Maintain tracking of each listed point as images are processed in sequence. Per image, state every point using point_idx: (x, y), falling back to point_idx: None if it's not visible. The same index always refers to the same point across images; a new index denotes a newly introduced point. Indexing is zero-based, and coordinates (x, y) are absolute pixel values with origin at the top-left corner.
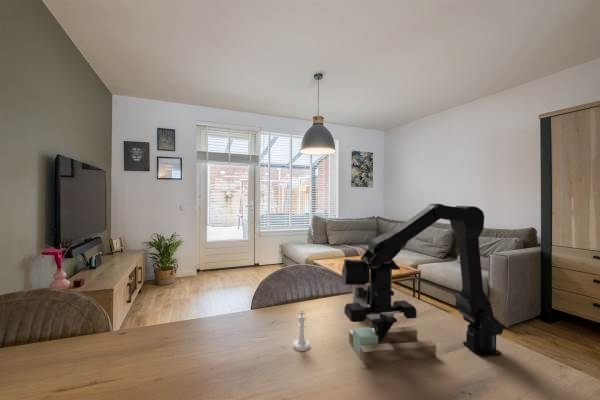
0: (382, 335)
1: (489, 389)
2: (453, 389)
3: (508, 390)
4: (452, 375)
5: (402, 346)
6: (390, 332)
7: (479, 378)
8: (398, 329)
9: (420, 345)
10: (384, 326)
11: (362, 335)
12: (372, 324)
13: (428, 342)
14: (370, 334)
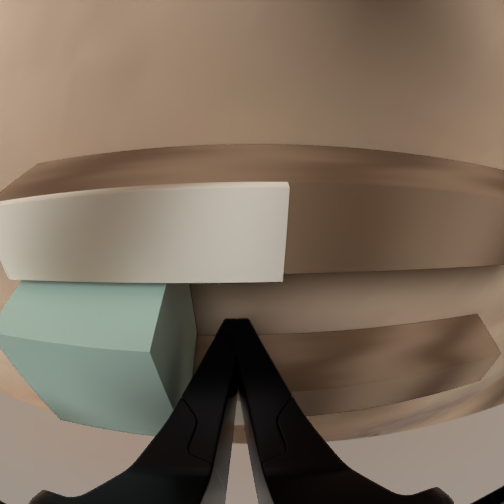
0: (242, 410)
1: (425, 421)
2: (353, 433)
3: (452, 416)
4: (405, 404)
5: (335, 405)
6: (408, 267)
7: (449, 401)
8: (498, 233)
9: (429, 390)
10: (257, 488)
11: (73, 412)
12: (160, 438)
13: (481, 367)
14: (132, 421)
